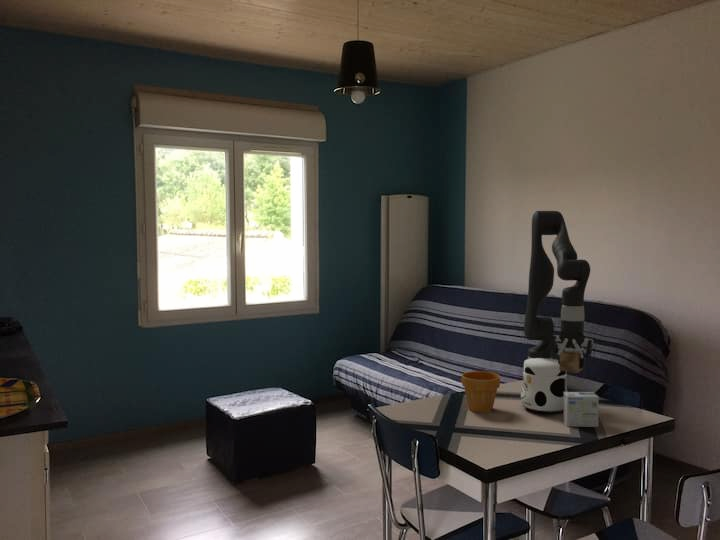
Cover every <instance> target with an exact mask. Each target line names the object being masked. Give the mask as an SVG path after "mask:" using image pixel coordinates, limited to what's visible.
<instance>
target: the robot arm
mask: <svg viewBox="0 0 720 540" xmlns="http://www.w3.org/2000/svg"><path fill="white" fill-rule="evenodd" d="M542 236H556V237H555V238H554V240H553V241H552V245H551V251H552V254H553V256H554V258H555V261H556V274H557V277H558V278H559V279H560V280H563V281H575V283H574V284H573V285H571V286H569V287H568V286H567V287H564V288H563V289H562V291H561V309H560V333H559V334H557V335H556V334H555V323H554V320H553V318H552V317H551V316H544V315H543V316H538V312H539V308H540V306H541V304H542V303H543V302H544V300H545V299H546V297H548V295H549V293H550V292H551V290H552V289H553V286H554V280H555V267H554V264H553V263H552V261H551V259H550V257H549V256H548V254H547V252H546V250H545V249H544V246H543V245H544V244H543V239H542V238H543V237H542ZM530 253H531V254H530V262H529V272H528V273H529V274H528V289H527V290H528V293H527V301H526V310H525V315H524V316H525V317H524V325H523V333H524V337H525V339H526V340H527V341H540V342H539V343H538V344H536V345H535V346H532V347H530V348H529V349H527V359H533V358H547V359H553V353H554V354H556V355H557V357H558V358H557V360H558V364H560V353H561V352H563V351H565V350H567V349H574V350H575V351H577V352H578V353H579V356H580V358H579V369H582V368H583V369H584V367H585V366H586V358H589V357H590V356H592V351H593V347H594V338H587V337H586V336H585V317H586V316H585V304H584V303H585V292H586V287H587V284H588V280H589V278H590V274H591V265H590V263H589V262H588V261H587V260H586V259H578V253H577V251H576V250H575V247H574V245H573V244H572V242H571V240H570V236H569V232H568V229H567V225H566V221H565V218H564V216H563V214H562V212H560V211H558V210H535V211H534V213H533V215H532V217H531V251H530ZM559 340H560V341H561V346H560V347H559V343H558V341H559ZM584 342H585V345H586V350H584V347H583V343H584ZM583 369H582V370H583Z"/></svg>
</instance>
